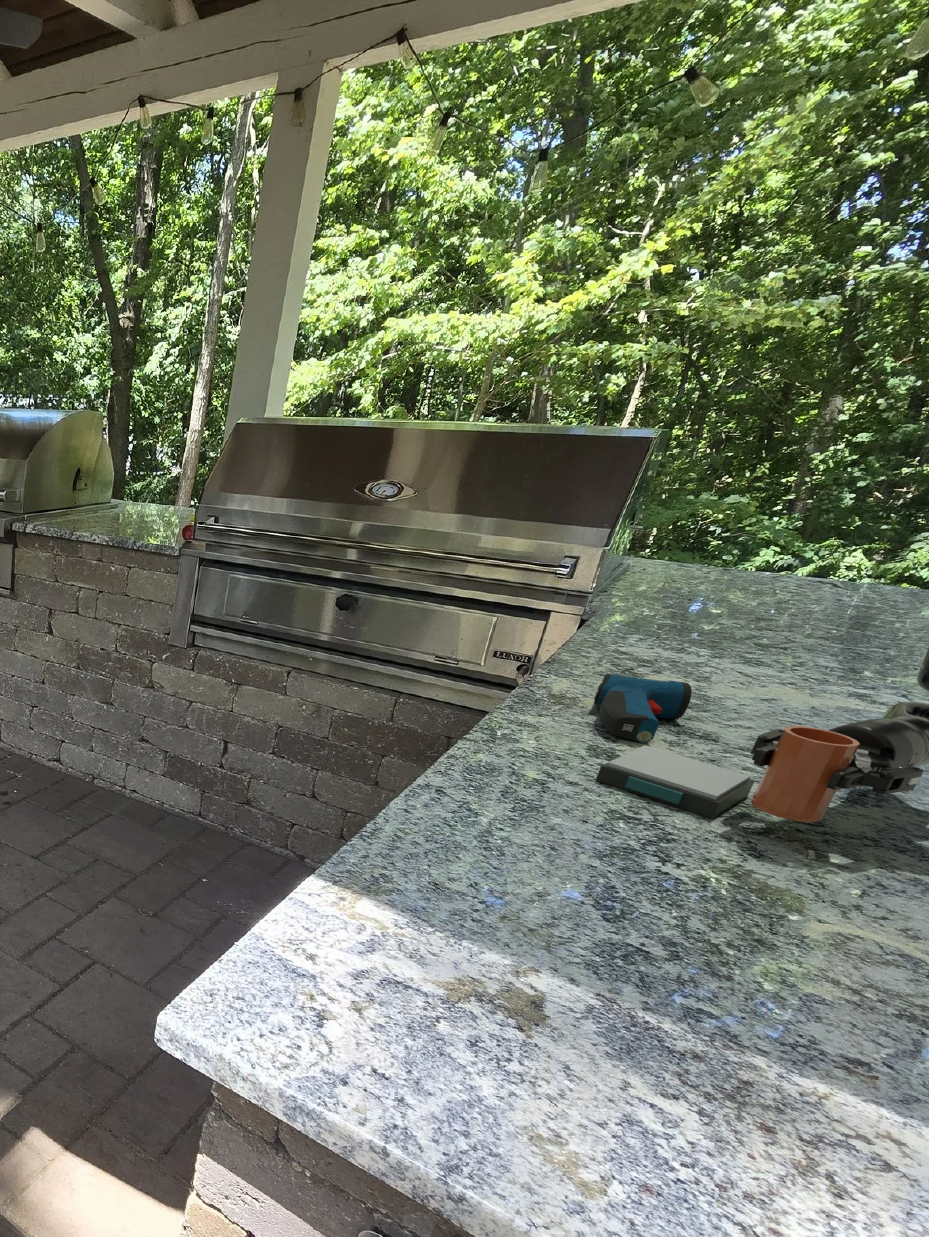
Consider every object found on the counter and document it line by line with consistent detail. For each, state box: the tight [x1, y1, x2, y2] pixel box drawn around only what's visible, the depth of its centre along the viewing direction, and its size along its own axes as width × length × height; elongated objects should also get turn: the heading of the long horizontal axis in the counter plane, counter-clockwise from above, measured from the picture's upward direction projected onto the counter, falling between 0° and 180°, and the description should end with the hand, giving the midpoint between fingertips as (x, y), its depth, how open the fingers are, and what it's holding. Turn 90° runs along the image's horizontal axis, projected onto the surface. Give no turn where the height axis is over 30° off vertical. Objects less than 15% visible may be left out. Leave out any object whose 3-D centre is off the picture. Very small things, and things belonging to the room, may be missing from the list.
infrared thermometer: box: [593, 673, 693, 744], centre depth 133 cm, size 6×13×20 cm
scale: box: [595, 745, 756, 820], centre depth 111 cm, size 13×14×3 cm
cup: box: [751, 725, 860, 823], centre depth 97 cm, size 6×6×10 cm
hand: (796, 769), depth 95 cm, fingers closed on cup, 6 cm apart
